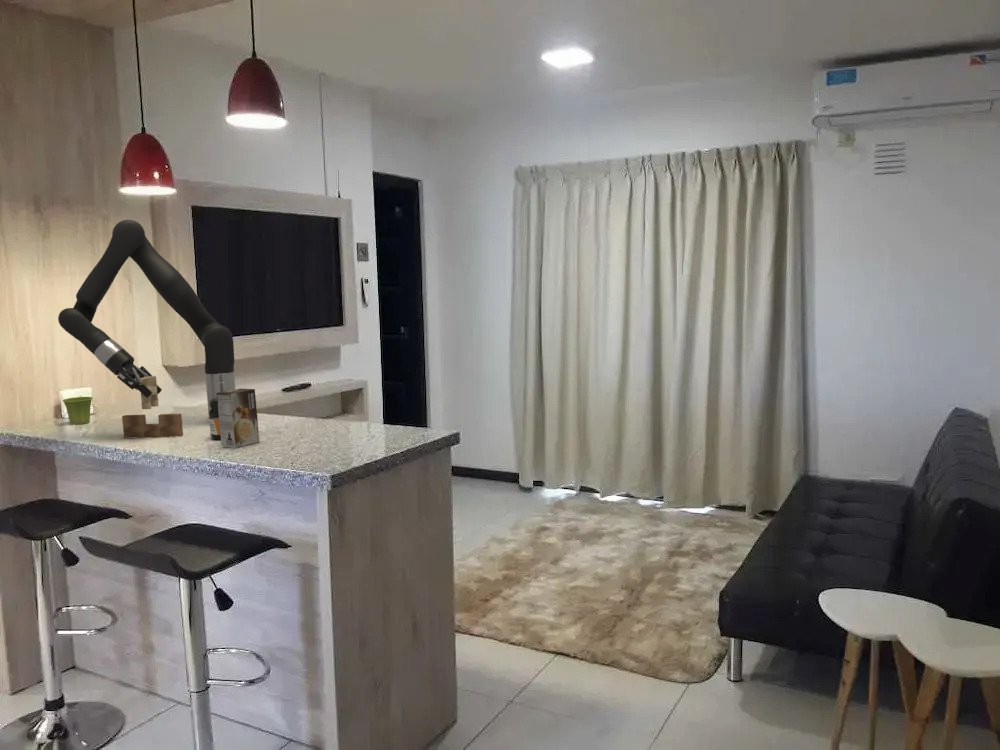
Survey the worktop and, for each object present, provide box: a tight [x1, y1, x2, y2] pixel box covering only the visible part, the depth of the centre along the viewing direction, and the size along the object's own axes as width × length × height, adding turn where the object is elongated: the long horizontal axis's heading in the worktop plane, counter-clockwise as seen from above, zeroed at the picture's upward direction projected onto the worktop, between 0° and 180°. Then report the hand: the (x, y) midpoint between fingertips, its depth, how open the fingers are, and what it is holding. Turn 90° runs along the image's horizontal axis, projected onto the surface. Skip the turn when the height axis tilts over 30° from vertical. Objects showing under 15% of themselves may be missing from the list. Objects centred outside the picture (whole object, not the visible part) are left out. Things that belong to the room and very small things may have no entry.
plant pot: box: [62, 396, 94, 425], centre depth 286 cm, size 9×9×9 cm
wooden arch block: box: [140, 375, 159, 410], centre depth 254 cm, size 2×6×10 cm, turn 178°
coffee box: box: [217, 388, 260, 449], centre depth 238 cm, size 9×6×16 cm
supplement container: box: [208, 398, 221, 441], centre depth 251 cm, size 10×10×12 cm
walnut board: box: [121, 413, 184, 439], centre depth 256 cm, size 18×2×7 cm, turn 88°
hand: (154, 393), depth 254 cm, fingers closed on wooden arch block, 6 cm apart
